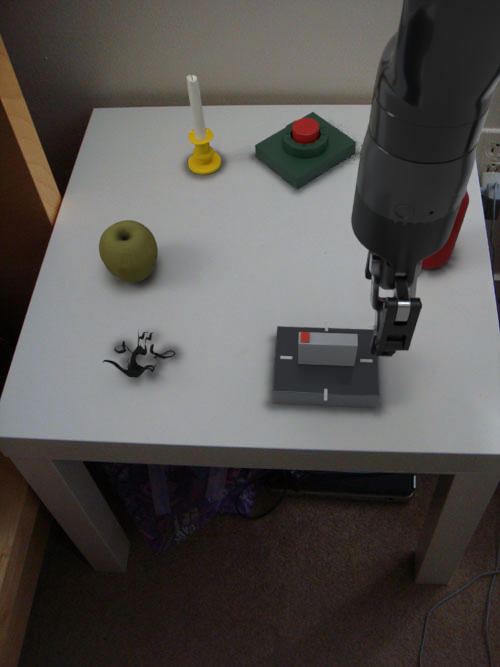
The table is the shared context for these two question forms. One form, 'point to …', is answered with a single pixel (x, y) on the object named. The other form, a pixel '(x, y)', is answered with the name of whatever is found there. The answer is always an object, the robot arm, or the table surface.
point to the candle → (200, 134)
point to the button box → (305, 152)
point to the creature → (134, 367)
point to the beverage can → (447, 249)
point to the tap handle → (327, 348)
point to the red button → (305, 130)
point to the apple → (128, 250)
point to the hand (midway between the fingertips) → (378, 312)
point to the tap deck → (324, 373)
